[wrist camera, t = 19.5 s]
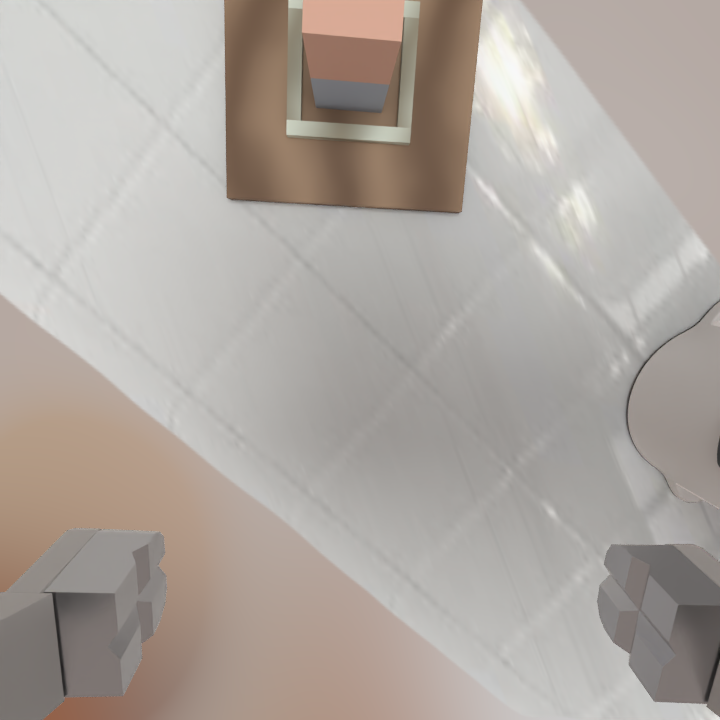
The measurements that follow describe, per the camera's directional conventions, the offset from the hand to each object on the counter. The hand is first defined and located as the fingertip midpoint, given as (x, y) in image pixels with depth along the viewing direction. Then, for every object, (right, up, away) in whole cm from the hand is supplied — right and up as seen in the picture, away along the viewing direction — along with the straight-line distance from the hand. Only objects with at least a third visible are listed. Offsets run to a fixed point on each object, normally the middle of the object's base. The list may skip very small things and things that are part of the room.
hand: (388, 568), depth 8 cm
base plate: (-1, +25, +26) cm, 36 cm away
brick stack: (-1, +24, +25) cm, 35 cm away
